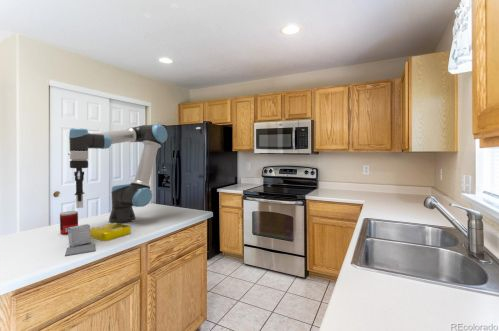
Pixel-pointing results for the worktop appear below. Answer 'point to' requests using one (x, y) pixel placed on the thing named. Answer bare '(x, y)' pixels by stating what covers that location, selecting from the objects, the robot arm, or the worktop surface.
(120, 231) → the element tile
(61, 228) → the canned food
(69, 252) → the mat
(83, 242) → the medicine box
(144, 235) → the worktop surface
